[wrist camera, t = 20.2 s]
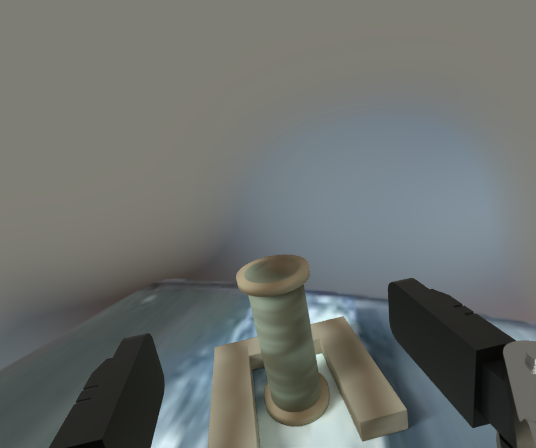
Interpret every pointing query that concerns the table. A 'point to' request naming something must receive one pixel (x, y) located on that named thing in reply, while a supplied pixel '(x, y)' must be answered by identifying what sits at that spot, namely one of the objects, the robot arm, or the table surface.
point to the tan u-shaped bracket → (344, 373)
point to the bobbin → (285, 338)
